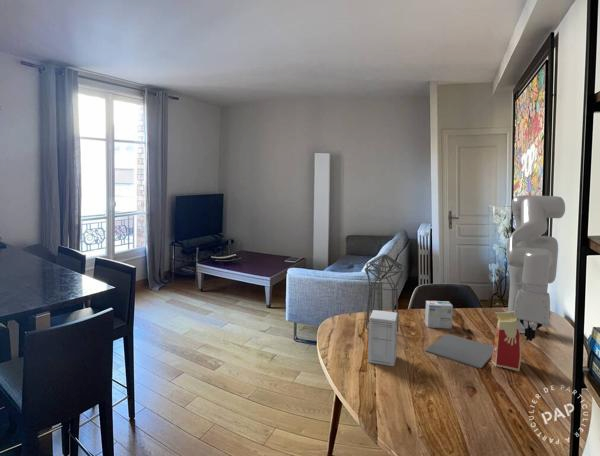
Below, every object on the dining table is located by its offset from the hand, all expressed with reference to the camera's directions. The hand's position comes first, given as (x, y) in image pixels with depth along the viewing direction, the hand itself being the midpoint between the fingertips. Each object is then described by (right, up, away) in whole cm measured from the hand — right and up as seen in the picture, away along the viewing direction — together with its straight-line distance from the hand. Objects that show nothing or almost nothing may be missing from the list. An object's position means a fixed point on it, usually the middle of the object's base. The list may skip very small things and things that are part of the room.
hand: (529, 339), depth 129 cm
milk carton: (-5, -11, +6) cm, 13 cm away
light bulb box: (-17, -6, +41) cm, 45 cm away
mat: (-17, -9, +16) cm, 25 cm away
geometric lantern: (-45, -7, +29) cm, 54 cm away
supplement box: (-49, -10, +7) cm, 51 cm away
